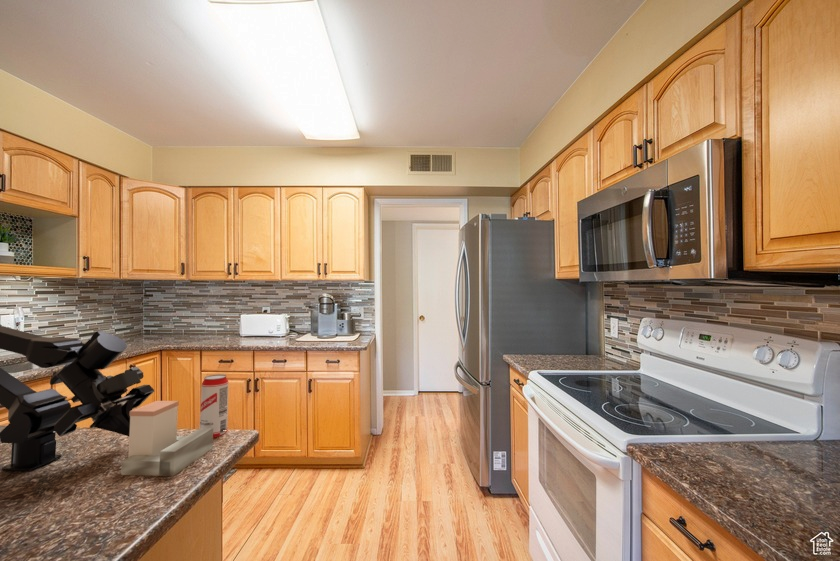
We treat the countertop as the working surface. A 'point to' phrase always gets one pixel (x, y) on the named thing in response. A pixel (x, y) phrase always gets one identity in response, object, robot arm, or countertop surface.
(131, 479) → the countertop surface
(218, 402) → the beer can
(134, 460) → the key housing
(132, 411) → the push key
